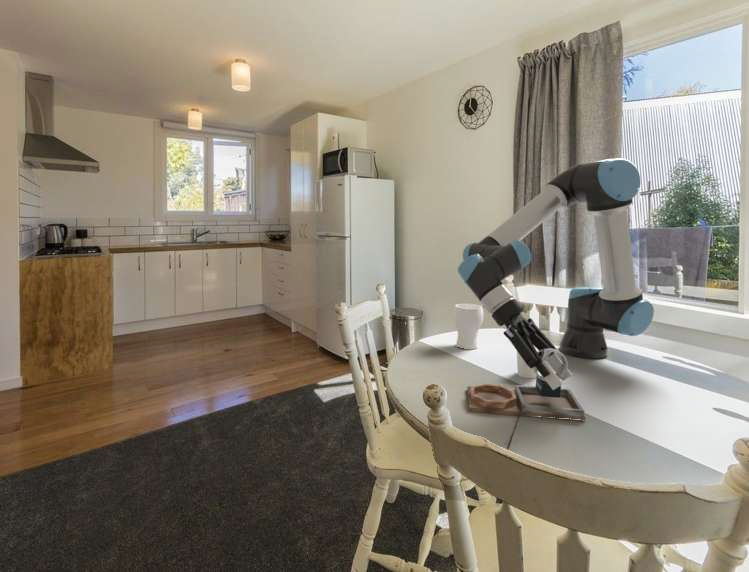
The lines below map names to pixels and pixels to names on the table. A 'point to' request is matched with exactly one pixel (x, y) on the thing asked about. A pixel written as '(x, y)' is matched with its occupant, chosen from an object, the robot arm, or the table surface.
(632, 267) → the robot arm
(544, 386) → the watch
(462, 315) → the cup
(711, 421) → the table surface
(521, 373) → the white cylinder
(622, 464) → the table surface
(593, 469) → the table surface
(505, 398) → the sorting board
